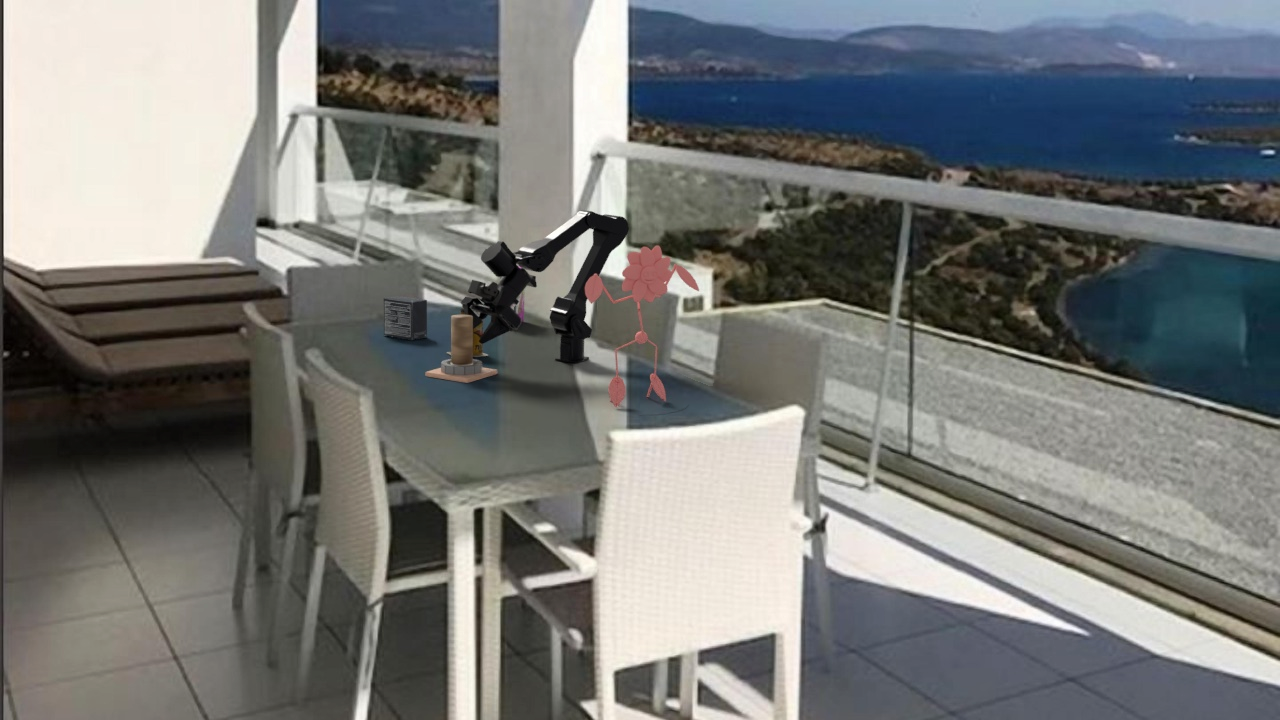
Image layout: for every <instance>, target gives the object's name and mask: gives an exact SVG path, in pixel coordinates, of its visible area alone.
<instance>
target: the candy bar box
mask: <svg viewBox="0 0 1280 720" xmlns="http://www.w3.org/2000/svg"><path fill="white" fill-rule="evenodd" d="M517 266H518V267H519V268H521V267H520V266H519V265H517ZM499 278H500V281H501V279H502V278H503V276H501V277H499ZM500 281H499V282H500ZM517 300H518V301H519V302H518V304H517V305H515V304H512V306H511V308H512V309H513V310H514V311H515V312H516V313H517V314H518V315H519V317H520V318H521V324H522V323H523V322H524V319H525V289H524V290H523V291H522V293H521V294H520V295H519V297H518V298H517Z"/></svg>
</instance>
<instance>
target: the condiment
mask: <svg viewBox="0 0 1280 720" xmlns="http://www.w3.org/2000/svg"><path fill="white" fill-rule="evenodd" d="M459 315H465V313H464V309H463V308H462V307H461V308H460V314H459ZM482 321H483V322H482V323H481V324H480V325H478V326H477V327H476V328H474V329H473V358H478V357H486V356H487V357H488V356H489V354H487V353H484V344H480V343H479V340H480V338H481V336H482V334H483V333H484V319H483V320H482ZM446 354H448V355H450V356H451V351H447V352H446Z"/></svg>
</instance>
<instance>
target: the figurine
mask: <svg viewBox="0 0 1280 720" xmlns="http://www.w3.org/2000/svg"><path fill="white" fill-rule="evenodd" d="M626 259H627V261H628V263H629V265H627V266H626V267H625V268H624V269H623V271H622V272H621V273H622V277H624V280H623V281H622V284H621V290H622V291H623V292H630V291H632V295H628V296H626V297H621V298H620V299H616V300H614V299H613V297H612V296H611V294H610V293H609V292H608V290H607V288H606V287H605V285H604V283H603V280H602V278H601V277H600V275H599V276H598V275H597V274H594V276H592V277H590V278H589V279H588V281H587V282H586V285H585V295H586V297H587V298H588V299H587V301H589V303H590V304H591V305H592V304H594V303H595V302H596V301H597V300H598V299H599V298H600V297H601V294H602V293H603V291H604V292H605V294H606V296H607V297H608V298H609V300H610V301H611V302H612V304H613V305H615V304H617V303H620V302H623V301H626V300H629V299H631V298H632V299H633V302H634V303H637V313H638V320H639V324H640V331H637V332H636V334H635V336H634V340H632V341H630V342H628V343H626V344H623V345H620V346H619V347H617V348H615V349H614V356H615V371H616V373H615V375H616V376H615V377H612V378H611V380H610V382H609V385H608V395H609V398H610V399H609V401H610V402H611V401H612V404H613V405H614V406H615V408H617V407H618V406H619V405H620V404H621V403H622V402H623V400H624V399H625V396H626V389H627V388H626V385H625V381H624V380H623V379H622V377H620V376H619V369H618V368H619V367H618V350H620V349H622V348H625V347H627V346H629V345H631V344H634V343H636V342H637V344H639V345H640V344H641V345H643V344H645V343H646V342H648V343H650V344H651V345H653V346H654V347H655V353H654V354H655V356H654V373H651V374H650V375H649V379H650V385H649V388H648V391H647V394H646V397H650V394H651V392H652V389H653V391H654V392H655V394H657V396H658V397H659V398H660V399H661V400H663V402H667V396H666V389H665V387H664V384H663V382H662V380H661V379H660V378H659V376H658V375H657V362H658V345H656V343H654V342H652V341H651V340H650V339H648V336H649V335H648V334H647V333H646V332H645V331H644V327H643V319H642V310H641V303H640V302H641V301H642V300H644V301H646V302H647V303H652V302H654V300H655V298H661V296H663V295H666V294H667V292H668V284H669V282H670V281H671V278H672V277H673V275H674V273H675V271H676V273H677V275H678V277H679V278H680V279H681V280H682V281H683V283H685V284H686V285H687V286H688V287H689V288H691V289H693V290H695V291H697V292H700V289H699V286H698V283H697V282H696V279H695V278H694V277H693V275H692V274H691V273H690V272H689V271H688V270H687V269H686V268H685V267H683V266H682V265H679V264H677V263H674V265H673V269H671V270H670V269H669V268H670V265H671V257H670V256H665V257H663V251H662V249H661V247H660V245H655V246H654V247H652V249H650V248H649V247H648V246H642V247H641V248H640V252H638V251H630V252H629V253H628V254H627V255H626ZM646 397H645V398H646Z"/></svg>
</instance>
